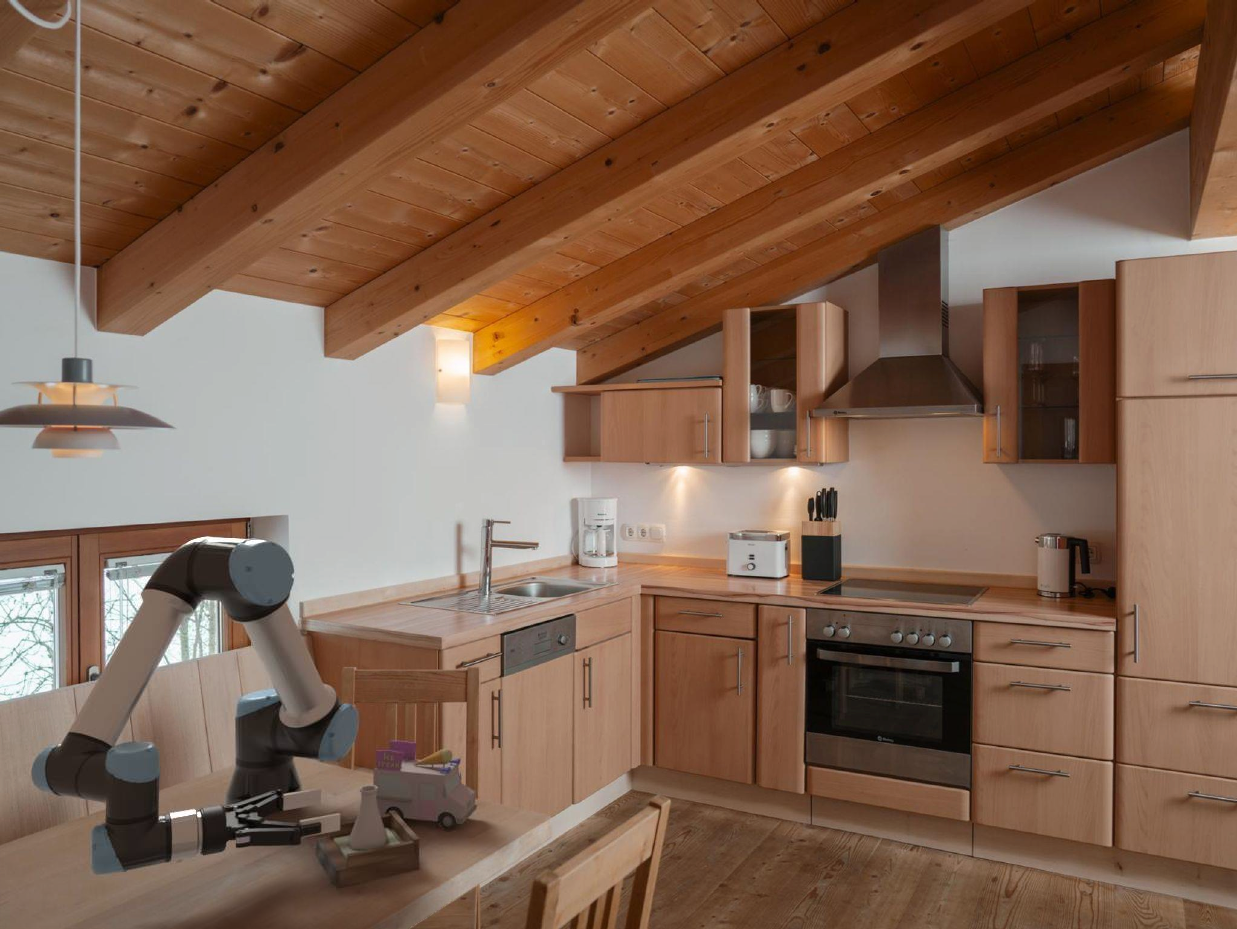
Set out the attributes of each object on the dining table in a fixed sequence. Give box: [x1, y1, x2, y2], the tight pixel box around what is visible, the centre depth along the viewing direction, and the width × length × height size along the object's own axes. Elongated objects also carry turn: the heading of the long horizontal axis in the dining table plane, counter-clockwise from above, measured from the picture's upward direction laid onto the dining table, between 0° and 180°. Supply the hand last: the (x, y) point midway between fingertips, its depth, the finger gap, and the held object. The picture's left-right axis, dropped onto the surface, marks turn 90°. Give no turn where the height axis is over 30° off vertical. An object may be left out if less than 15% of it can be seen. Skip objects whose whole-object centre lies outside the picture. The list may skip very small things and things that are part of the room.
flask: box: [348, 784, 389, 850], centre depth 164 cm, size 7×7×10 cm
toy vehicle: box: [372, 739, 478, 831], centre depth 183 cm, size 9×20×15 cm, turn 78°
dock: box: [315, 810, 421, 889], centre depth 164 cm, size 15×15×6 cm
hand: (329, 808), depth 161 cm, fingers open, 13 cm apart
